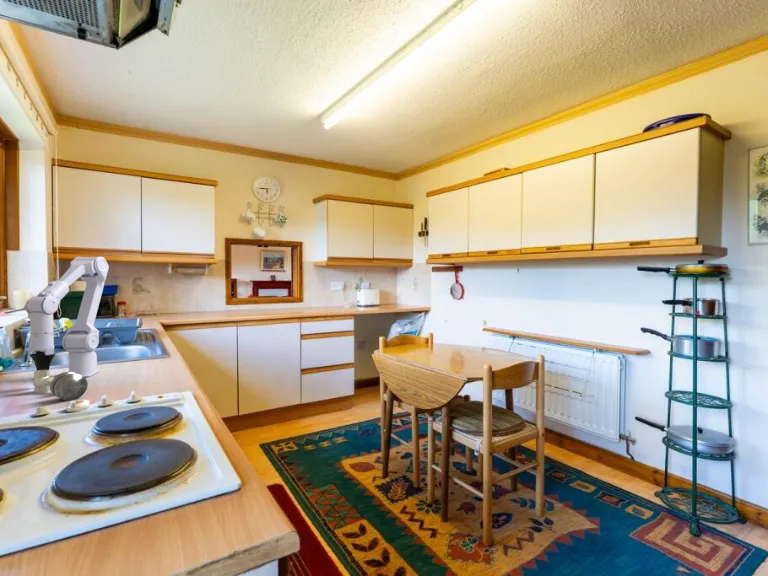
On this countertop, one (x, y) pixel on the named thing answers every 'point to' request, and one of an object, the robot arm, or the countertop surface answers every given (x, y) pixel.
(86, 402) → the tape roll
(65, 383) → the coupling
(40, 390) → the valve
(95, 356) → the robot arm
